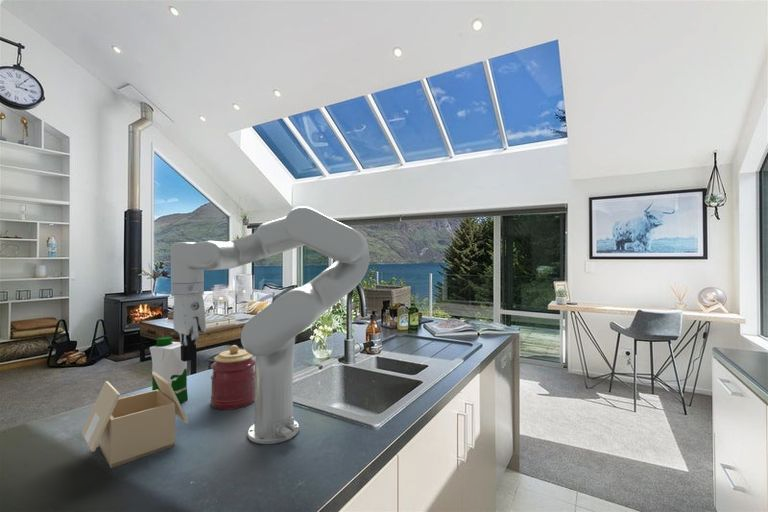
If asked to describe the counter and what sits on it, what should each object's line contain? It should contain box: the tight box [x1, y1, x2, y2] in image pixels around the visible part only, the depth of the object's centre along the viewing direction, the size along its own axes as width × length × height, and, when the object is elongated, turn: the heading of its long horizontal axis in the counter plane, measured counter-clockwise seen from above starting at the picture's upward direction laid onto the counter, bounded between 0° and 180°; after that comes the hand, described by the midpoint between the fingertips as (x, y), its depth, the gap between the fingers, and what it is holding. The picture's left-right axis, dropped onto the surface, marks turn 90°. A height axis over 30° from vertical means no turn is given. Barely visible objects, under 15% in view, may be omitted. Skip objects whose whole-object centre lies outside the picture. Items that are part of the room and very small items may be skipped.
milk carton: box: [149, 336, 189, 404], centre depth 113 cm, size 9×9×20 cm
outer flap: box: [80, 380, 121, 452], centre depth 82 cm, size 12×12×1 cm
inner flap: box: [151, 372, 189, 424], centre depth 92 cm, size 12×12×1 cm
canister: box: [210, 344, 255, 410], centre depth 114 cm, size 13×13×18 cm
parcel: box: [98, 390, 176, 469], centre depth 87 cm, size 13×12×10 cm
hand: (188, 359), depth 95 cm, fingers closed
